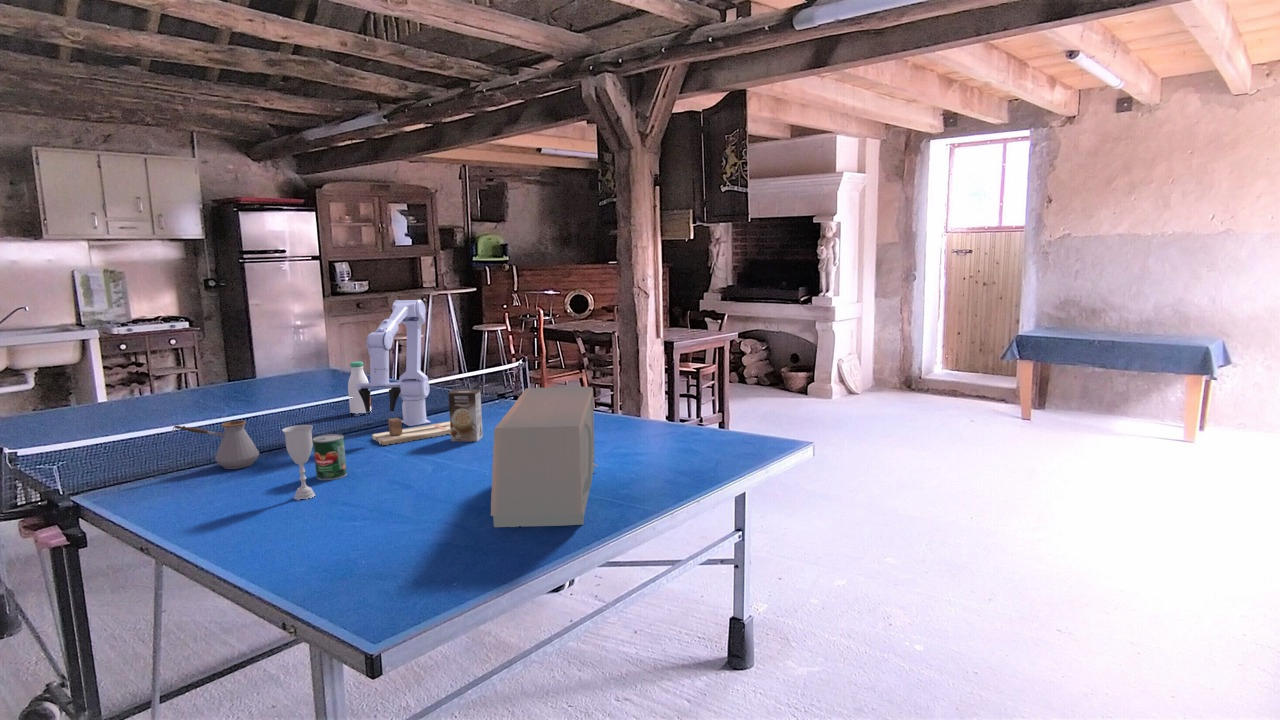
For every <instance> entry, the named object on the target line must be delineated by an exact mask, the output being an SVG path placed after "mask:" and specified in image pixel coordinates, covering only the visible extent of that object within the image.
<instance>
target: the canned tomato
mask: <svg viewBox="0 0 1280 720" xmlns="http://www.w3.org/2000/svg"><path fill="white" fill-rule="evenodd" d="M344 438H345V437H344V435H343V434H339V433H332V434H331V433H328V434H323V435H319V436H318V435H317V436H315V437H312V442H313V446H312V447H313V455H314V465H315V473H316V479H317V480H319V481H333V480H334V481H335V480H338V479H341V478H344V477H346V476H347V475H348V472H347V469H348V468H347V462H346V461H347V459H346V449H345V440H344Z"/></svg>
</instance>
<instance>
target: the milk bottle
mask: <svg viewBox="0 0 1280 720" xmlns="http://www.w3.org/2000/svg"><path fill="white" fill-rule="evenodd" d="M349 367H350V370H351V371H350V376H349V379H348V381H347V382H348V383H347V390H348V391H347V392H348V393H347V394H348V402H349V403H348V405H349V412H350V413H356V414H358V413H366V409H365V405H364V402H363V400H362V398H361V396H360V394H359V391H358V390H356V384H359V383H370V382H369V381H370V380H368V377H367V375H366V374H365V371H364V362H363V361H351V362H349ZM368 390H369V391H370V392H371V389H368ZM349 397H353V398H352V399H349ZM371 399H372V398H371V397H370V411H371V410H372V400H371ZM371 412H372V411H371Z"/></svg>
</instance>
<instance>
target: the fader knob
mask: <svg viewBox="0 0 1280 720" xmlns="http://www.w3.org/2000/svg"><path fill="white" fill-rule="evenodd" d="M401 420H402V419H400V418H399V417H394V418H388V430H389V431H388V432H389V434H391V435H393V436H395V435H401V434H402V429H403V425H402V424H403V423H402V422H401Z"/></svg>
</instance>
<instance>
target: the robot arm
mask: <svg viewBox="0 0 1280 720" xmlns="http://www.w3.org/2000/svg"><path fill="white" fill-rule="evenodd" d="M391 310H392V313H391V314H390V316H389V318H385V319H383V320H382V322H381V323H380V324H379V325H378V327H377V329H375V331H374V332H370V333H369V334H368V335H367V337H366V341H365V342H366V343H365V344H366V348H367V350H368V351H367V353H368V355H369V360H370V361H369V364H370V366H369V368H370V373H369V374H370V376H369V377H370V378H369V379H370V380H369V381H370V382H369V383H359V384H356V390H358V391H359V394H360V396H361V398H362V400H363V402H364V405H365V409H366V412H370V398H371V390H383V389H384V390H388V393H389V412H394V411H395V408H396V403H397V400H398V398H399V397H400V398H401V400H403V401H402V404H401V411H402V419H400V420H401V423H402V424H404V425H406V426H408V427H411V426H413V427H415V426H419V425H420V426H421V425H424V424H425V425H427V424H431V420H428V419H427V409H426V406H427V405H426V399H427V397H428V396H429V394H430V383H429V382H430V381H429V377H428V376H427V375H426V373H424V372H423V371H422V370H421V367H422V366H421V365H422V364H421V363H422V361H421V359H422V356H421V355H422V325H424V324H425V322H426V306H425V303H424V300H422V299H412V300H411V299H409V300H408V299H404V300H399V299H395V300H394V302H393V303H392V309H391ZM400 324H402V325H405V327H406V355H405V357H406V360H405V361H406V362H405V366H406V367H405V372H403V373H402V374H401V375H400V376H399V378H398V379H399V380H398V382H390V350H391V349H392V346H393V341H394V337H395V336H396V335H397V333H398V332H399V329H400V327H399V325H400ZM368 389H370V391H369V390H368Z"/></svg>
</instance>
